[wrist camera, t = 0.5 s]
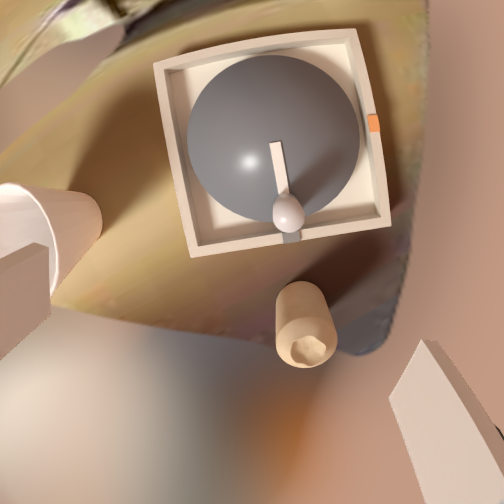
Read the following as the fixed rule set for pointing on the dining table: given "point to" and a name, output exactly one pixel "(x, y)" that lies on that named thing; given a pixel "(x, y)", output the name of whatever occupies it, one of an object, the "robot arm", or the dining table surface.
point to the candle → (304, 326)
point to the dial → (273, 139)
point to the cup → (49, 224)
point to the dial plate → (257, 232)
